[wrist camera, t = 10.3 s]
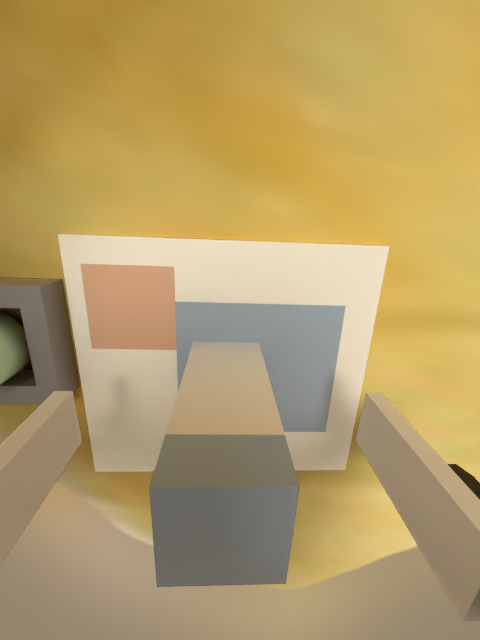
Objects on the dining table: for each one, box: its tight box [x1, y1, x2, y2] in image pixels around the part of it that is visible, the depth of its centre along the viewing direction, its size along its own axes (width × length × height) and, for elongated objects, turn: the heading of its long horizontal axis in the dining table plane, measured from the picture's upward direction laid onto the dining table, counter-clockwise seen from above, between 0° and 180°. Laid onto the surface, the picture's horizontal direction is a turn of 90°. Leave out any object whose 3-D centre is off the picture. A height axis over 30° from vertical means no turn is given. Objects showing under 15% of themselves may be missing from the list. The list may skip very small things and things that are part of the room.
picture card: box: [58, 234, 389, 472], centre depth 18 cm, size 16×18×1 cm
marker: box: [149, 341, 299, 587], centre depth 13 cm, size 4×4×10 cm
